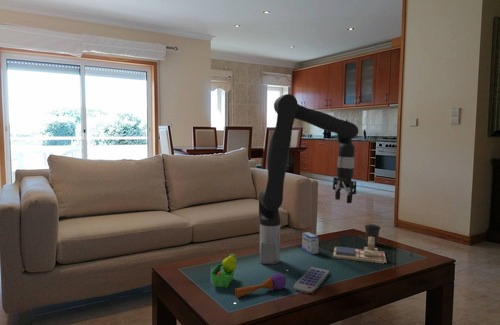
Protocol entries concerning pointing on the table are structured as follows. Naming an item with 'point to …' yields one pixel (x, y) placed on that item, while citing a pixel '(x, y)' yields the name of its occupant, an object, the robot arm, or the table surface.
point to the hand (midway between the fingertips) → (343, 201)
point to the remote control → (311, 280)
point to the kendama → (264, 285)
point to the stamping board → (362, 256)
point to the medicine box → (310, 243)
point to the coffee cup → (372, 232)
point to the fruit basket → (224, 272)
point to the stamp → (371, 248)
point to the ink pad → (345, 251)
